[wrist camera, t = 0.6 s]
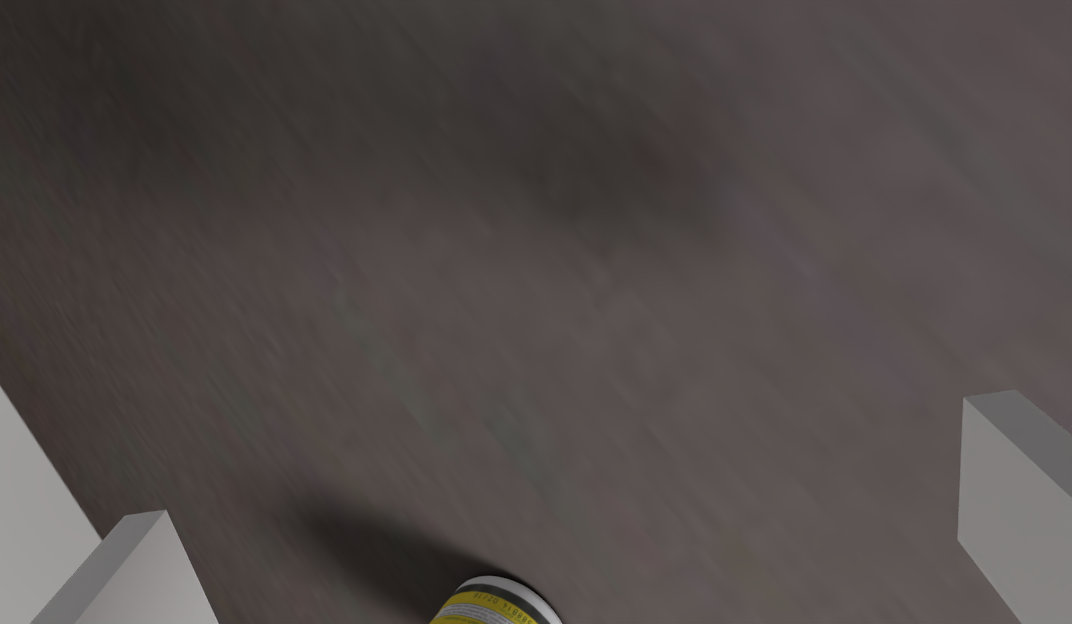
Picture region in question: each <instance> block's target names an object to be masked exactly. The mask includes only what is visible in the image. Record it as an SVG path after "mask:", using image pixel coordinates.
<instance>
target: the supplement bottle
mask: <svg viewBox="0 0 1072 624" xmlns="http://www.w3.org/2000/svg"><path fill="white" fill-rule="evenodd" d="M430 624H562V622H561V620H560V619H559V617H558V616H557V615H556V613H555V612H554V611H553V610H552V608H551V607H550V606H549V605H548V604H547V603H546V602H545V601H544V600H543V599H542V598H541V597H540V596H538V595H537V594H536V593H534V592H533V591H532V590H530V589H529V588H527V587H525V586H523V585H521V584H519V583H517V582H515V581H512V580H509V579H506V578H502V577H497V576H481V577H476V578H473V579H470V580H468V581H466V582H465V583H463V584H462V585H461V586H460V587H459V588H458V589H457V590H456V591H455V592H454V593H453V594H452V595H451V597H450V598H449V599H448V601H447V602H446V603H445V604H444V605H443V607H442V608H441V609H440V611H439V612H438V614H437V615H436V616H435V617H434V619H433V620H432V621H431V622H430Z"/></svg>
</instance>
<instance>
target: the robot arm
mask: <svg viewBox="0 0 1072 624" xmlns="http://www.w3.org/2000/svg"><path fill="white" fill-rule="evenodd" d="M958 541H959V542H960V544H961V545H962V546H963V548H964V549H965V550H966V552H967V553H968V554H969V555H970V557H971V558H972V559H973V561H974V562H975V563H976V565H977V566H978V567H979V569H980V570H981V571H982V572H983V574H984V575H985V576H986V578H987V579H988V580H989V582H990V583H991V584H992V585H993V587H994V588H995V589H996V591H997V592H998V593H999V595H1000V596H1001V597H1002V599H1003V600H1004V601H1005V602H1006V604H1007V605H1008V606H1009V608H1010V609H1011V610H1012V612H1013V613H1014V614H1015V616H1016V617H1017V618H1018V619H1019V621H1020V622H1021V623H1022V624H1072V435H1071V434H1070V433H1069V432H1067V431H1066V430H1065V429H1064V428H1063V427H1061V426H1060V425H1059V424H1058V423H1056V422H1055V421H1054V420H1053V419H1051V418H1050V417H1049V416H1048V415H1046V414H1045V413H1044V412H1043V411H1042V410H1040V409H1039V408H1038V407H1037V406H1035V405H1034V404H1033V403H1032V402H1030V401H1029V400H1028V399H1027V398H1025V397H1024V396H1023V395H1022V394H1021V393H1019V392H1018V391H1017V390H1009V391H1002V392H995V393H988V394H981V395H974V396H967V397H963V420H962V445H961V469H960V493H959V518H958ZM30 624H218V622H217V619H216V617H215V615H214V613H213V611H212V609H211V606H210V604H209V602H208V600H207V598H206V595H205V593H204V591H203V589H202V587H201V585H200V582H199V580H198V578H197V576H196V574H195V572H194V569H193V567H192V565H191V563H190V561H189V559H188V556H187V554H186V552H185V550H184V548H183V546H182V543H181V541H180V539H179V537H178V535H177V533H176V530H175V528H174V526H173V524H172V522H171V519H170V517H169V515H168V513H167V511H166V510H161V511H154V512H147V513H140V514H133V515H126V516H124V517H123V518H122V519H121V520H120V521H119V523H118V524H117V525H116V526H115V527H114V528H113V529H112V531H111V532H110V533H109V534H108V535H107V536H106V537H105V539H104V540H103V541H102V542H101V543H100V544H99V546H98V547H97V548H96V549H95V550H94V551H93V552H92V553H91V555H90V556H89V557H88V558H87V559H86V560H85V561H84V563H83V564H82V565H81V566H80V567H79V568H78V569H77V571H76V572H75V573H74V574H73V575H72V576H71V577H70V578H69V580H68V581H67V582H66V583H65V584H64V585H63V587H62V588H61V589H60V590H59V591H58V592H57V593H56V595H55V596H54V597H53V598H52V599H51V600H50V601H49V603H48V604H47V605H46V606H45V607H44V608H43V609H42V610H41V612H40V613H39V614H38V615H37V616H36V617H35V618H34V620H33V621H32V622H31V623H30Z"/></svg>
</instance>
